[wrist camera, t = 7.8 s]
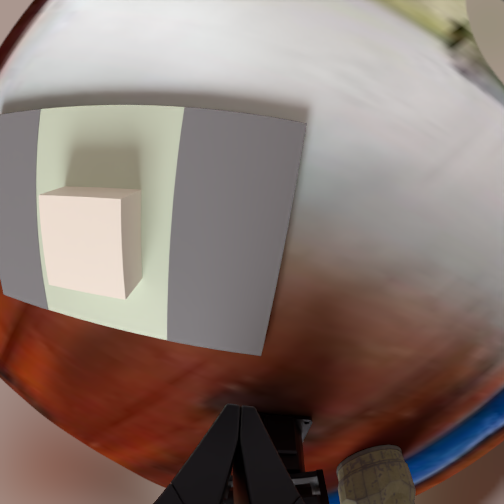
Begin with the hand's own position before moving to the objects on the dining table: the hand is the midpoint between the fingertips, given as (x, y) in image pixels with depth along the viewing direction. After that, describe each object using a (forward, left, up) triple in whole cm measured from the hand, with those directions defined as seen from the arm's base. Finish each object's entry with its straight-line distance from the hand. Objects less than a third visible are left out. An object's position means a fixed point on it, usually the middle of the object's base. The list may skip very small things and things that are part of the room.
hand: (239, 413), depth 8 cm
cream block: (+1, +10, -12) cm, 16 cm away
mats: (+1, +10, -13) cm, 16 cm away
